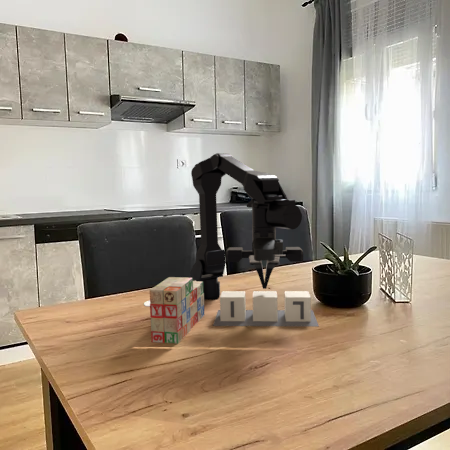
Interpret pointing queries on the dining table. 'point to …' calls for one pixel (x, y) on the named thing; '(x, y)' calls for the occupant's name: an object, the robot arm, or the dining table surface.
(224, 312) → the digit block 1
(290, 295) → the digit block 7
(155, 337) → the stack of blocks
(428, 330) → the dining table surface
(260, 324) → the tap mat
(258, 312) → the blank block
